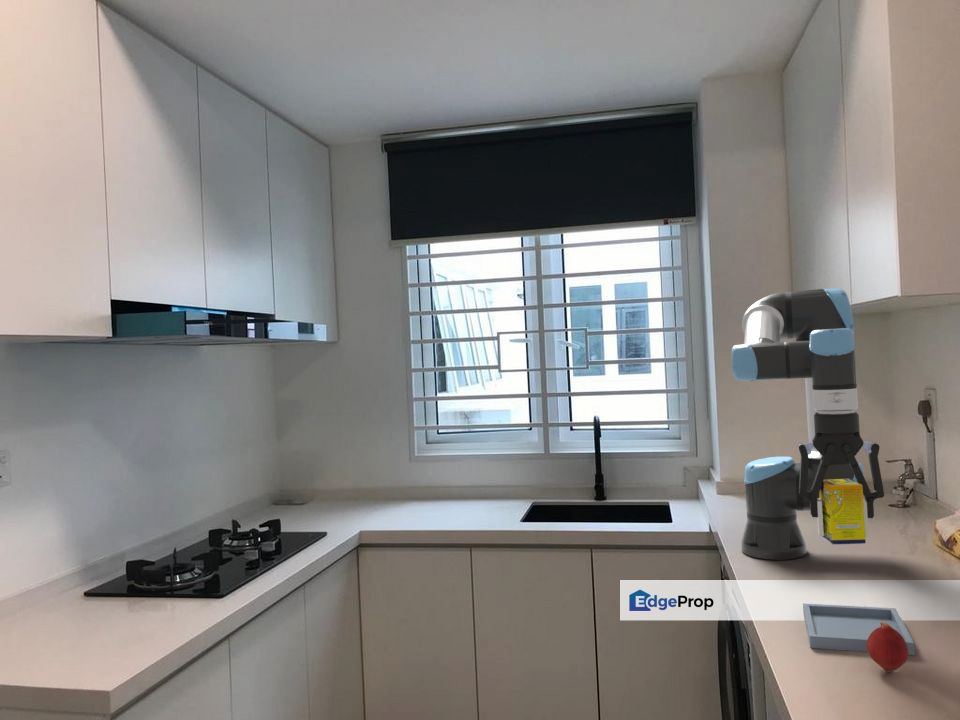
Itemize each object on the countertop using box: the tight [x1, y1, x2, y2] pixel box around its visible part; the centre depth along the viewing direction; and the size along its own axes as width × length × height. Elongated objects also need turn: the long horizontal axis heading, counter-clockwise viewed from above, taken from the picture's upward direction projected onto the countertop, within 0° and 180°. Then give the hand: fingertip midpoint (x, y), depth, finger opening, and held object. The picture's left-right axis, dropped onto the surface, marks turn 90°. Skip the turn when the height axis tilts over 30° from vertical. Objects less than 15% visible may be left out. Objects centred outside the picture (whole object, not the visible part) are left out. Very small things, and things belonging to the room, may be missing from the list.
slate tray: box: [802, 603, 916, 656], centre depth 133 cm, size 16×16×2 cm
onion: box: [866, 622, 909, 673], centre depth 118 cm, size 6×6×8 cm
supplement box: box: [819, 479, 867, 546], centre depth 137 cm, size 6×6×11 cm
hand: (842, 534), depth 137 cm, fingers closed on supplement box, 7 cm apart
